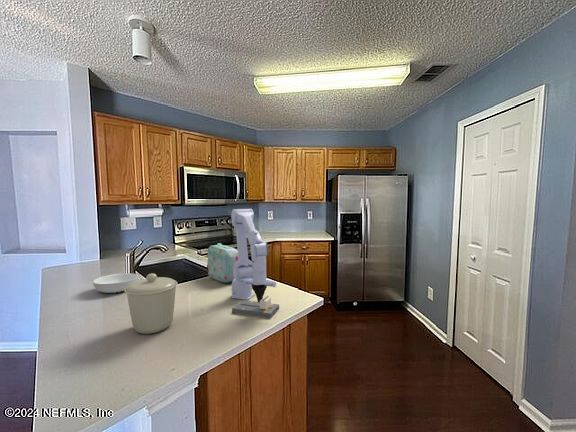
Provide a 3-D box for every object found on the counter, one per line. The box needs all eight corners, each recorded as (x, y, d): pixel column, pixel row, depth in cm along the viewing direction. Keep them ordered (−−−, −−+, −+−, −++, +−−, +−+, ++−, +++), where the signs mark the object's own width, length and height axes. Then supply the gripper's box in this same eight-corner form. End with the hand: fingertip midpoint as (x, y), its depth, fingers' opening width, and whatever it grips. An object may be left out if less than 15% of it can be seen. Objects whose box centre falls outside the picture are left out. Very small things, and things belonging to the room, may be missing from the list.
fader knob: (259, 308, 116) (259, 299, 116) (264, 304, 121) (264, 295, 121) (266, 309, 115) (266, 300, 115) (270, 305, 120) (270, 296, 120)
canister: (143, 317, 114) (141, 267, 113) (186, 317, 114) (184, 267, 112) (115, 339, 96) (112, 281, 95) (165, 339, 96) (163, 281, 94)
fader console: (232, 312, 118) (232, 308, 118) (243, 304, 127) (243, 299, 127) (270, 318, 112) (270, 313, 112) (279, 308, 122) (279, 304, 122)
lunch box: (204, 276, 173) (203, 243, 172) (219, 273, 180) (218, 241, 179) (226, 286, 154) (225, 248, 152) (241, 282, 161) (241, 246, 159)
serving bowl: (141, 291, 146) (140, 279, 145) (93, 300, 134) (92, 286, 134) (136, 282, 163) (136, 270, 163) (94, 288, 151) (93, 276, 151)
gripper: (240, 271, 116) (240, 302, 117) (271, 274, 112) (272, 306, 113) (247, 267, 123) (248, 297, 124) (277, 270, 118) (278, 300, 119)
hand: (260, 301), depth 119 cm, fingers closed
